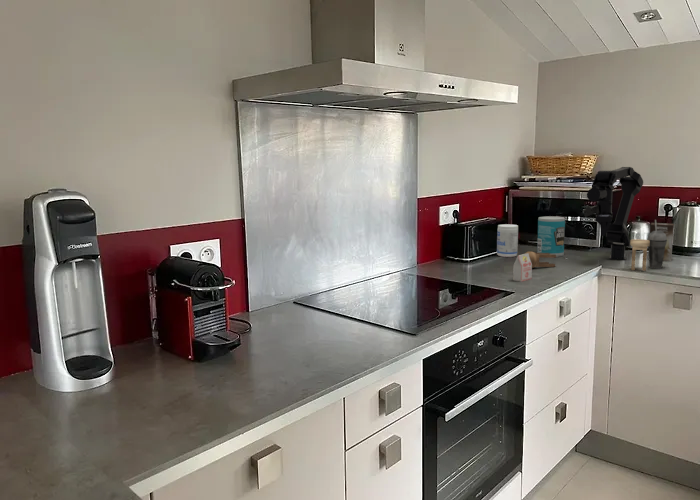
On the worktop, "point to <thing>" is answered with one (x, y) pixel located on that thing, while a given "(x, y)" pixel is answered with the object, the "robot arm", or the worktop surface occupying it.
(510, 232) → the supplement tub
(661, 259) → the beverage cup
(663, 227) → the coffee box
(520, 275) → the milk carton
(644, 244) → the light brown bar stool
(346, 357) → the worktop surface
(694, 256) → the worktop surface
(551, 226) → the food can
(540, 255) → the wooden stool
